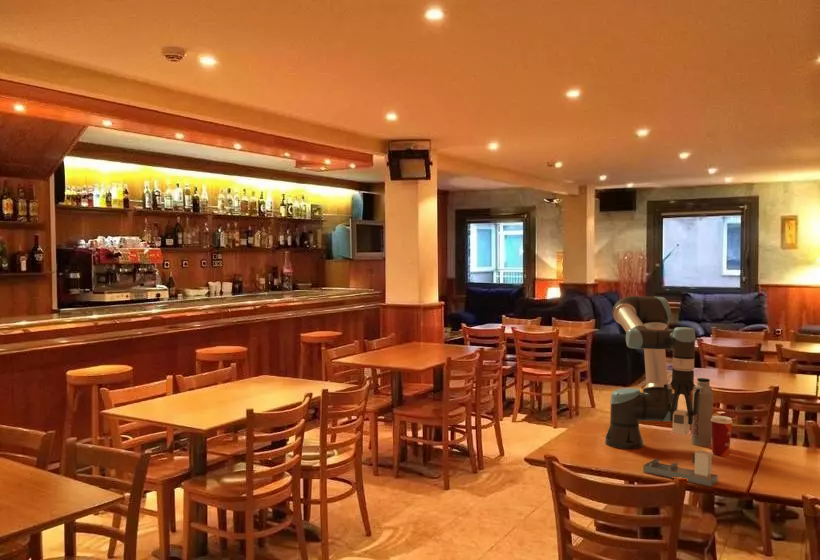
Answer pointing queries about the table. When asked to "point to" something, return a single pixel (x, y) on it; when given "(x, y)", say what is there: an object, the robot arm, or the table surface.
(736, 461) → the table surface
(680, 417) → the cream rectangular block
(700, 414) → the thermos bottle
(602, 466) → the table surface
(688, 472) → the rail
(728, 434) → the coffee cup
